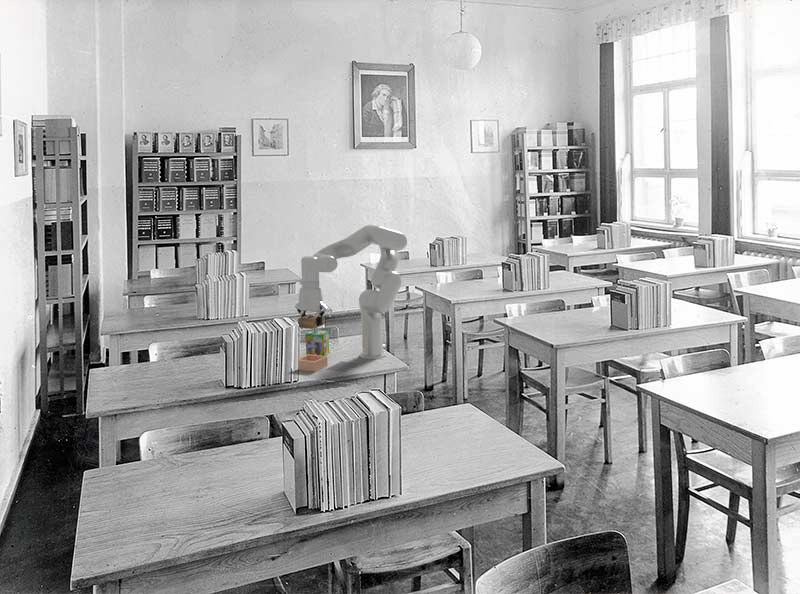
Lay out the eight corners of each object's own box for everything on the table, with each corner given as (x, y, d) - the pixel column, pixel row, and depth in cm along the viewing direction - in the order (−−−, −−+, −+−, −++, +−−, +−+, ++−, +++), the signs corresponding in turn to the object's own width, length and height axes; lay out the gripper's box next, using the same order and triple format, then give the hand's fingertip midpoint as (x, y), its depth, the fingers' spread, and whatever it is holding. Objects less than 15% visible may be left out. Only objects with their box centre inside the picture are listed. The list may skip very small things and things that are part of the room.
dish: (308, 364, 333) (308, 354, 332) (327, 367, 328) (327, 356, 328) (296, 370, 324) (296, 359, 323) (316, 373, 320) (315, 362, 319)
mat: (341, 362, 336) (341, 361, 336) (360, 364, 331) (360, 363, 331) (325, 370, 323) (325, 369, 323) (345, 372, 319) (345, 371, 319)
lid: (311, 322, 328) (310, 312, 328) (324, 324, 326) (324, 313, 325) (298, 327, 319) (297, 316, 318) (312, 329, 316) (311, 318, 315)
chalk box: (324, 358, 342) (323, 327, 340) (305, 358, 344) (304, 327, 341) (330, 353, 351) (329, 323, 348) (311, 353, 353) (310, 323, 350)
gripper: (288, 284, 319) (290, 324, 322) (323, 287, 312) (324, 328, 315) (298, 282, 326) (299, 321, 329) (332, 284, 319) (333, 324, 322)
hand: (311, 324), depth 322 cm, fingers closed on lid, 7 cm apart
